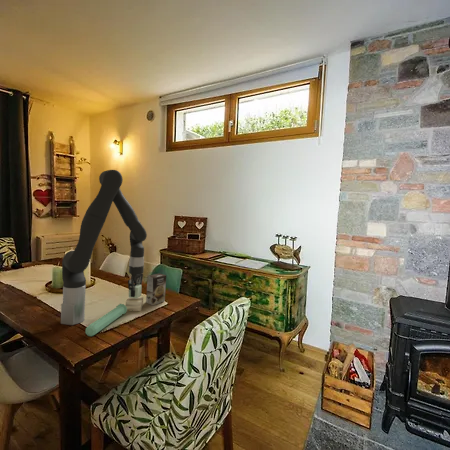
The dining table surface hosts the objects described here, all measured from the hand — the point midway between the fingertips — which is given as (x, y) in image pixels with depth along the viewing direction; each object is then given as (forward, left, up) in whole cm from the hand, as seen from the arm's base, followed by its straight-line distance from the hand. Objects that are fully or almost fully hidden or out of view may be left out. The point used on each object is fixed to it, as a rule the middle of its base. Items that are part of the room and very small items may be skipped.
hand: (134, 294), depth 145 cm
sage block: (0, 0, -1) cm, 1 cm away
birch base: (0, 0, -8) cm, 8 cm away
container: (-21, +4, -8) cm, 23 cm away
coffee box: (+11, -8, -8) cm, 16 cm away
